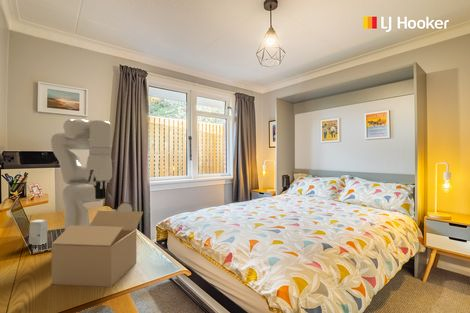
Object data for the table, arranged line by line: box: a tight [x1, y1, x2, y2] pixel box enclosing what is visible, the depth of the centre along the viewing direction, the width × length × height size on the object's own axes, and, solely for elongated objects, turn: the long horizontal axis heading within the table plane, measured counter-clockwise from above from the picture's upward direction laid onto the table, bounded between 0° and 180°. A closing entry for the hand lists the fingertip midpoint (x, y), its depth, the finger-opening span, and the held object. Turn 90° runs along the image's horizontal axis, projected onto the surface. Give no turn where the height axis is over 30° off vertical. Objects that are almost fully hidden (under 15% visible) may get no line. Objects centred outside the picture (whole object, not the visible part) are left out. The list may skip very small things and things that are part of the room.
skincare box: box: [28, 219, 49, 246], centre depth 117 cm, size 6×4×12 cm
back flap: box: [89, 210, 144, 231], centre depth 103 cm, size 21×9×1 cm
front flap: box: [51, 225, 123, 246], centre depth 85 cm, size 21×9×1 cm, turn 87°
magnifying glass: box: [115, 201, 134, 211], centre depth 125 cm, size 9×2×20 cm, turn 135°
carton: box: [51, 229, 137, 288], centre depth 91 cm, size 22×18×14 cm
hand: (100, 198), depth 92 cm, fingers closed
